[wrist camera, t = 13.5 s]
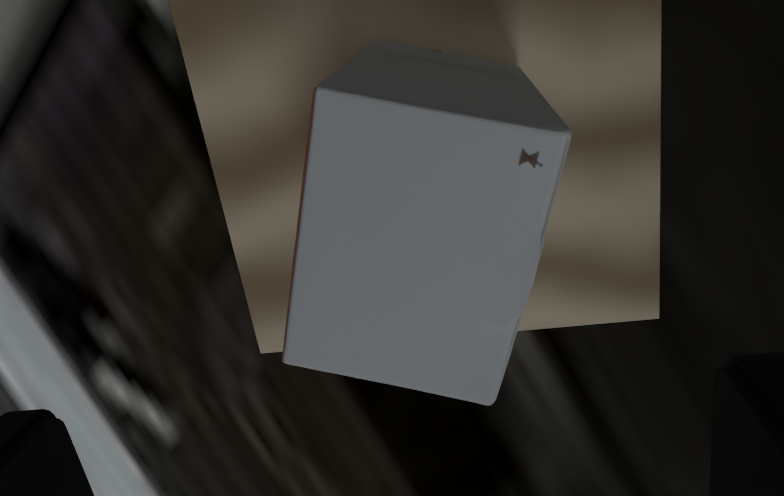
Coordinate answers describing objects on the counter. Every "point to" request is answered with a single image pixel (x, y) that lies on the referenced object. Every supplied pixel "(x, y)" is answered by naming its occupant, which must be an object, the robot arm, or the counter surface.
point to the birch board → (463, 37)
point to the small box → (421, 219)
